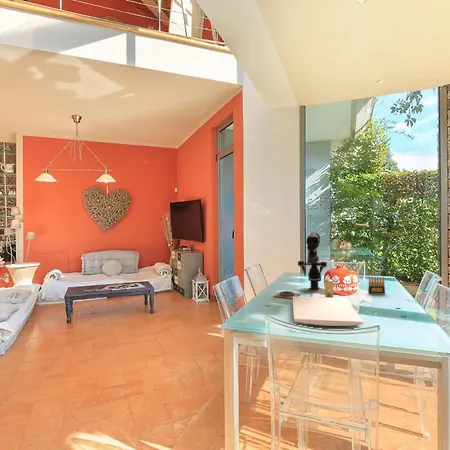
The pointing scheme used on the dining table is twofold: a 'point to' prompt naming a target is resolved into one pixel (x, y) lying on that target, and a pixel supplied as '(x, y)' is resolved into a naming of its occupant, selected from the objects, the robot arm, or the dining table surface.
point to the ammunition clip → (376, 285)
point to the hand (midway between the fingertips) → (312, 276)
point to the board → (325, 311)
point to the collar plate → (286, 295)
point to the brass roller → (329, 288)
